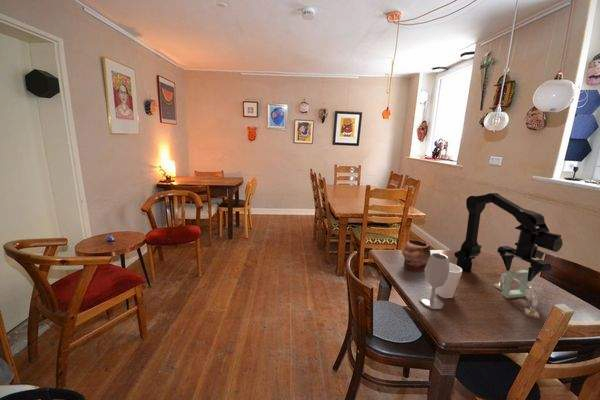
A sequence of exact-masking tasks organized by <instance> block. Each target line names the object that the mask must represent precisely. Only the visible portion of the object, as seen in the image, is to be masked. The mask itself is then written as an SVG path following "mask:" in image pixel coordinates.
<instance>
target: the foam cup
mask: <svg viewBox="0 0 600 400" xmlns="http://www.w3.org/2000/svg"><path fill="white" fill-rule="evenodd" d="M462 273H463V271H462V269H461V268H460V267H459V266H457V265H456V263H455V264H454V263H452V262H449V275H448V278H447V280H446V282H445V284H444V285H443V286H440V287H437V288H436V290H435V294H437V295H438V296H440V297H441V298H443V299H447V298H451V299H453V297H454V294H455V292H456V289H457V286H458V283H459V282H460V278H462Z"/></svg>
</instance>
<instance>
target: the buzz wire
mask: <svg viewBox="0 0 600 400" xmlns="http://www.w3.org/2000/svg"><path fill="white" fill-rule="evenodd" d="M506 276H507V272H503V273H501V275H500V280H499V282H498V283H493V285H492V286H493V287H494V288H496V289H498V291H499V290H500V291H503V288H504V284H505V280H506ZM512 282H515V283H517V284H519V286H520V285H522V286H524V287H526V289H528V290H529V292H530V294H531V297H532V300H531V303H530V307H529V308H526V307H524V308H523V311H524V315H525V316H527V317H529V318H533V319H537V320H540V314H539V312H538V311H537V310H536V309H537V306H538V303H539V298H538V296H537V294H536V291H535V289H534V287H533V286H531V285H529V284H525V283H523V282H521V280H519V279H517V278H516V277H515V278H513V279H512Z"/></svg>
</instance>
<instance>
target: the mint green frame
mask: <svg viewBox="0 0 600 400" xmlns="http://www.w3.org/2000/svg"><path fill="white" fill-rule="evenodd" d="M506 274H507V276H506V277H505V281H504V288H503V290H502V291H501V290H500V291H501V292H500V295H502V296H503V297H504V298H506V299H513V298H521V297H527V293H526V291H527V288H526V287H524V286H522V285H520V284H519V288H518V289H511V287H512V283H513V280H512V279H513V278H515V279H516V278H521V280H520V281H521V282H523V283H525V284H527V285H529V284H528V283H529V281H528V270H527V269H520V270H519V269H518V270H509V271H507V272H506Z"/></svg>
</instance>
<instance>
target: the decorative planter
mask: <svg viewBox="0 0 600 400" xmlns="http://www.w3.org/2000/svg"><path fill="white" fill-rule="evenodd" d="M401 254H402V256H403V258H404V260H403V261H404V262H403V267H404V268H406V269H407V270H409V271H412V272H416V273H420V272H424V271H425V268H426V265H427V262H428V259H429V257H430V256H431V254H432V253H431V245H430V244H429V243H426V242H424V241H421V240H416V239H409V240H408V241H407V242H406V245H405V247H403V248H402V250H401Z"/></svg>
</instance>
